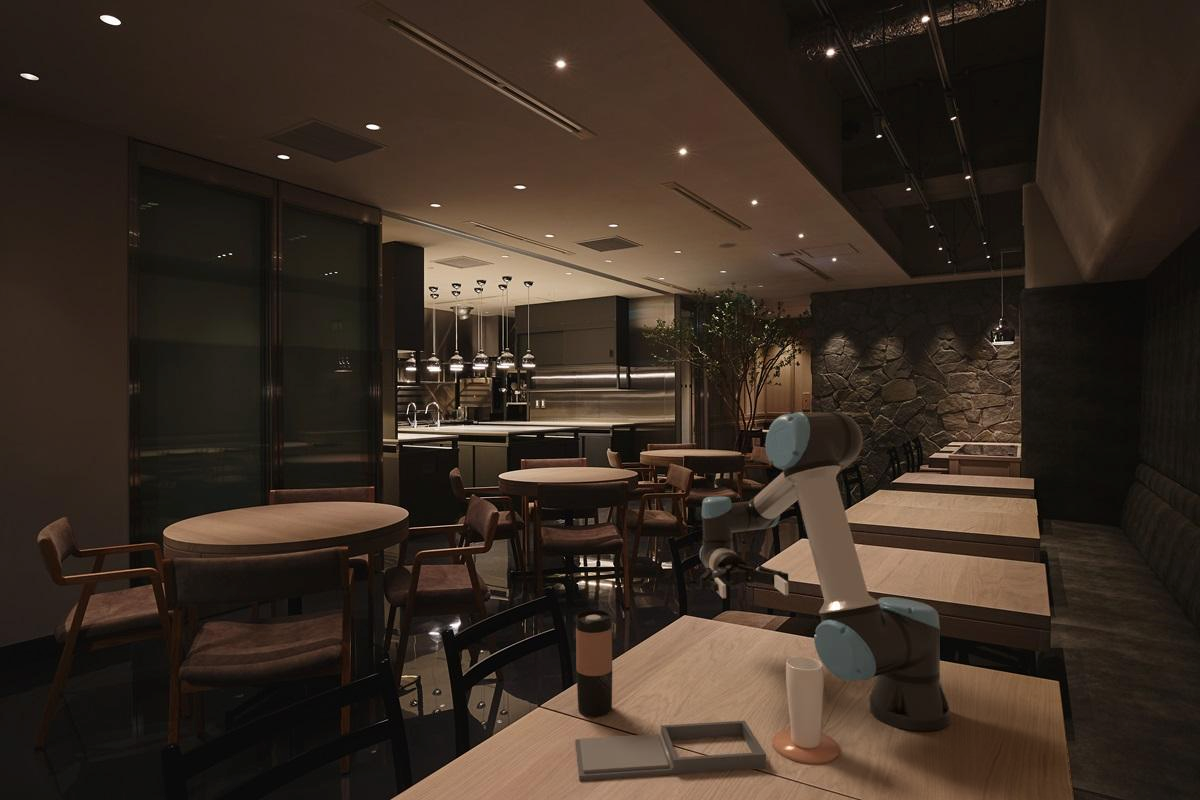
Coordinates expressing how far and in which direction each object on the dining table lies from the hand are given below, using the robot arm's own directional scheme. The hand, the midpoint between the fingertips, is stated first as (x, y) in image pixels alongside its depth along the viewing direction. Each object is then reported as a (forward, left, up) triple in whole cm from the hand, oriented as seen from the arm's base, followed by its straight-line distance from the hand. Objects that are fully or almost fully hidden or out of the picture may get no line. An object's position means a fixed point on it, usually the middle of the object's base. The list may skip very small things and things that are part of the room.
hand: (755, 590), depth 145 cm
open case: (+23, +18, -25) cm, 38 cm away
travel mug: (+34, -2, -25) cm, 43 cm away
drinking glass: (-4, +17, -24) cm, 30 cm away
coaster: (-4, +18, -25) cm, 30 cm away
